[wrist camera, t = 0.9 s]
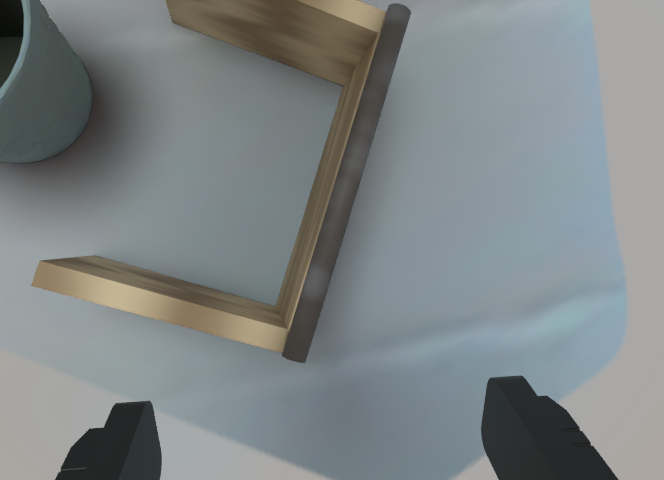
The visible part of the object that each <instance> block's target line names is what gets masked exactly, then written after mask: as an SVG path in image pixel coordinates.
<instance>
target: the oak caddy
mask: <svg viewBox="0 0 664 480" xmlns="http://www.w3.org/2000/svg"><path fill="white" fill-rule="evenodd" d="M166 3H167V6H168V10H169V13H170V16H171V20H172V22H174V23H176V24H179V25H182V26H184V27H187V28H190V29H192V30H195V31H198V32H200V33H203V34H206V35H208V36H211V37H214V38H217V39H219V40H222V41H225V42H227V43H230V44H233V45H235V46H238V47H241V48H243V49H246V50H249V51H251V52H254V53H257V54H259V55H262V56H265V57H268V58H270V59H273V60H276V61H278V62H281V63H284V64H286V65H289V66H292V67H294V68H297V69H300V70H302V71H305V72H308V73H310V74H313V75H316V76H319V77H321V78H324V79H327V80H329V81H332V82H335V83H337V84H340V85H343V89H342V92H341V95H340V99H339V102H338V105H337V108H336V112H335V115H334V118H333V121H332V125H331V128H330V131H329V134H328V138H327V141H326V144H325V147H324V151H323V154H322V157H321V160H320V164H319V167H318V170H317V173H316V177H315V180H314V183H313V186H312V190H311V193H310V196H309V199H308V203H307V206H306V209H305V212H304V216H303V219H302V222H301V225H300V229H299V232H298V235H297V238H296V242H295V245H294V248H293V251H292V255H291V258H290V261H289V264H288V268H287V271H286V274H285V277H284V281H283V284H282V287H281V290H280V294H279V297H278V300H277V303H276V307H275V306H271V305H268V304H264V303H261V302H257V301H253V300H250V299H246V298H243V297H239V296H236V295H232V294H229V293H225V292H222V291H218V290H215V289H211V288H208V287H204V286H201V285H197V284H194V283H190V282H187V281H183V280H180V279H176V278H173V277H169V276H165V275H162V274H158V273H155V272H151V271H148V270H144V269H141V268H137V267H134V266H130V265H127V264H123V263H120V262H116V261H113V260H109V259H106V258H102V257H99V256H84V257H74V258H63V259H53V260H42V261H40V262H39V264H38V267H37V270H36V273H35V276H34V279H33V282H32V285H31V286H34V287H38V288H42V289H45V290H49V291H53V292H57V293H60V294H64V295H68V296H71V297H75V298H79V299H83V300H86V301H90V302H94V303H98V304H101V305H105V306H109V307H112V308H116V309H120V310H124V311H127V312H131V313H135V314H139V315H142V316H146V317H150V318H153V319H157V320H161V321H165V322H168V323H172V324H176V325H180V326H183V327H187V328H191V329H195V330H198V331H202V332H206V333H209V334H213V335H217V336H221V337H224V338H228V339H232V340H236V341H239V342H243V343H247V344H250V345H254V346H258V347H262V348H265V349H269V350H273V351H277V352H280V353H282V356H283V357H285V358H287V359H289V360H292V361H296V362H301V363H305V362H306V358H307V355H308V352H309V348H310V345H311V342H312V338H313V335H314V332H315V328H316V325H317V322H318V319H319V315H320V312H321V309H322V305H323V302H324V299H325V295H326V292H327V289H328V285H329V282H330V279H331V276H332V272H333V269H334V266H335V262H336V259H337V256H338V252H339V249H340V246H341V242H342V239H343V236H344V233H345V229H346V226H347V223H348V219H349V216H350V213H351V209H352V206H353V203H354V199H355V196H356V193H357V190H358V186H359V183H360V180H361V176H362V173H363V170H364V166H365V163H366V160H367V156H368V153H369V150H370V147H371V143H372V140H373V137H374V133H375V130H376V127H377V123H378V120H379V117H380V113H381V110H382V107H383V103H384V100H385V97H386V94H387V90H388V87H389V84H390V80H391V77H392V74H393V70H394V67H395V64H396V60H397V57H398V54H399V51H400V47H401V44H402V41H403V37H404V34H405V31H406V27H407V24H408V21H409V17H410V14H411V12H410V10H409V9H408V8H407V7H406V6H404V5H401V4H391V5H389V6H388V9H387V12H385V11H383V10H380V9H378V8H375V7H373V6H370V5H368V4H365V3H363V2H361V1H358V0H166Z"/></svg>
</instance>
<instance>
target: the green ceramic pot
mask: <svg viewBox="0 0 664 480" xmlns="http://www.w3.org/2000/svg"><path fill="white" fill-rule="evenodd" d="M92 97H93V95H92V91H91V85H90V80H89V77H88V74H87V72H86V70H85V68H84V66H83V64H82V62H81V61H80V59H79V58H78V56H77V55H76V53H75V52H74V50H73V49H72V48H71V47H70V45H69V44H68V42H67V40H66V39H65V38H64V36H63V35H62V34H61V33H60V32H59V30H58V28H57V26H56V25H55V23H54V22H53V21H52V20H51V19H50V18H49V15H48V13H47V10H46V9H45V7H44V6H43V5H42V4H41V2H40V0H0V161H3V162H10V163H29V162H35V161H40V160H44V159H47V158H50V157H52V156H55V155H57V154H58V153H60V152H62V151H63V150H65V149H66V148H68V147H69V146H70V145H71V144H72V143H73V142H74V141H75V140H76V139H77V138H78V137H79V135H80V134H81V133H82V131H83V129H84V128H85V126H86V125H87V123H88V120H89V115H90V111H91V106H92Z"/></svg>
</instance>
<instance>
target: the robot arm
mask: <svg viewBox="0 0 664 480" xmlns="http://www.w3.org/2000/svg"><path fill="white" fill-rule="evenodd" d="M481 434H482V441H483V445H484V449H485V452H486V454H487V456H488V458H489V460H490V462H491V464H492V466H493V468H494V471H495V473H496V475H497V477H498V479H499V480H618V478H617V477H616V476H615V474H614V473H613V472H612V470H611V469H610V468H609V467H608V465H607V464H606V462H605V461H604V460H603V458H602V457H601V456H600V454H599V453H598V452H597V450H596V449H595V448H594V447H593V446H591V444H590V441H589V440H588V438H587V437H586V436H585V435H584V433H583V432H582V431H580V429H579V426H578V425H577V424H576V422H575V421H574V420H573V418H572V417H571V416H570V414H569V413H568V412H567V410H565V409H564V408H563V407H561V406H560V405H559V404H557V403H556V402H555V401H553V400H552V399H551V398H549V397H548V396H537V395H536V393H535V392H534V390H533V389H532V388H531V386H530V385H529V383H528V382H527V380H526V379H525V378H524V377H523V376H507V377H493V378H490V379H489V380H488V383H487V389H486V397H485V404H484V411H483V418H482V426H481ZM161 457H162V456H161V448H160V442H159V437H158V432H157V426H156V422H155V416H154V410H153V406H152V403H151V402H150V401H140V402H126V403H116V404H115V405H114V406H113V408H112V410H111V412H110V415H109V417H108V419H107V421H106V424H105V426H104V428H93V429H89V430H88V431H87V432H86V433H85V434H84V435H83V436H82V437H81V438H80V439H79V440H78V441H77V442H76V443H75V444H74V445H73V446H72V447H71V449H70V451H69V453H68V455H67V457H66V459H65V461H64V463H63V465H62V467H61V472H59V473H58V475H57V477H56V479H55V480H160V475H161V464H162V463H161V461H162V458H161Z"/></svg>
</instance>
